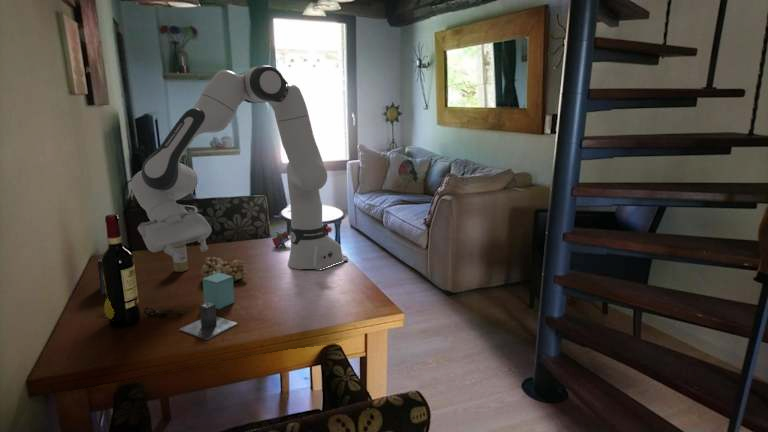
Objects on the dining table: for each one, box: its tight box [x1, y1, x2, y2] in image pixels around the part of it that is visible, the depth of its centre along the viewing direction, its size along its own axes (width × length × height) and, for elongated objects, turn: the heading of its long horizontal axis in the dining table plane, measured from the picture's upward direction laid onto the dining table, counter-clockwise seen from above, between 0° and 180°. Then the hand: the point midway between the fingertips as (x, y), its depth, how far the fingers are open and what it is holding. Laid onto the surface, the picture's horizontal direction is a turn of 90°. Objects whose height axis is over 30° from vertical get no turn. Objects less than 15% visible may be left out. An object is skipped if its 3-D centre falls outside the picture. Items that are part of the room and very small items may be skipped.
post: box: [179, 302, 239, 341], centre depth 119 cm, size 10×10×6 cm
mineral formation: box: [200, 256, 249, 282], centre depth 152 cm, size 8×13×15 cm
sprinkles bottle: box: [171, 244, 189, 273], centre depth 160 cm, size 5×5×13 cm
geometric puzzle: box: [272, 231, 291, 249], centre depth 190 cm, size 7×7×8 cm
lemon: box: [103, 297, 115, 320], centre depth 121 cm, size 6×6×8 cm
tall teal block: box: [202, 273, 235, 310], centre depth 133 cm, size 6×6×8 cm
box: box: [97, 253, 106, 295], centre depth 142 cm, size 8×6×11 cm
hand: (192, 254), depth 136 cm, fingers open, 8 cm apart
